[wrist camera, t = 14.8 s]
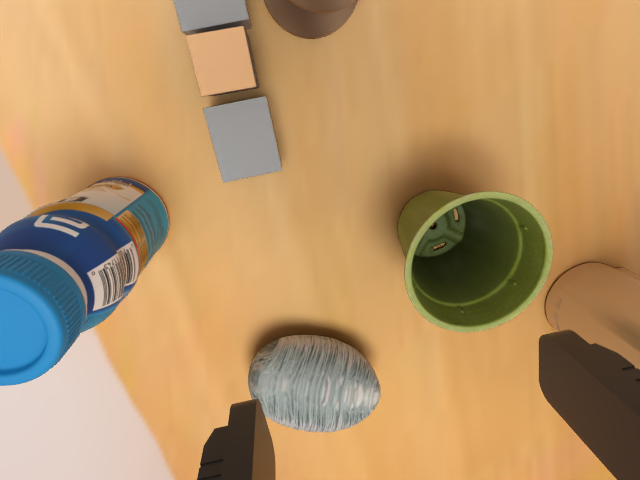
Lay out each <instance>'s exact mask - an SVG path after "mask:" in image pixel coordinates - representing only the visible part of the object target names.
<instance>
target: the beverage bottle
mask: <svg viewBox="0 0 640 480" xmlns="http://www.w3.org/2000/svg"><path fill="white" fill-rule="evenodd" d="M168 229H169V219H168V214H167V210H166V208H165V206H164V204H163V202H162V200H161V199H160V198H159V196H158V195H157V194H156V193H155V192H154V191H153V190H152V189H150V188H149V187H148V186H146V185H144V184H143V183H141V182H138V181H136V180H133V179H129V178H123V177H112V178H106V179H103V180H100V181H98V182H96V183H94V184H92V185H90V186H89V187H87V188H86V189H84V190H82V191H80V192H78V193H76V194H74V195H72V196H69V197H67V198H65V199H63V200H61V201H59V202H56V203H51V204H48V205H45V206H43V207H40V208H38V209H36V210H35V211H33V212H31V213H30V214H28V215H27V216H26V217H25V218H23V219H22V220H19V221H17V222H15V223H13V224H11V225H10V226H8V227H7V228H5V229H4V230H3V231H2V232H1V233H0V386H5V385H16V384H21V383H25V382H28V381H31V380H33V379H35V378H37V377H39V376H41V375H42V374H44V373H46V372H47V371H48V370H49V369H50V368H52V367H53V366H54V365H56V364H57V362H59V361H60V359H61V358H62V357H63V355H64V354H65V353H66V352H67V350H68V349H69V348H70V347H71V346H72V344H73V343H74V342H75V340H76V339H77V338H78V336H79V335H80V333H81V332H84V331H86V330H88V329H90V328H92V327H94V326H96V325H98V324H99V323H101V322H102V321H104V320H105V319H106V318H107V317H108V316H110V315H111V314H112V312H113V311H114V310H115V309H116V307H117V306H118V304H119V303H120V302H121V301H122V300H123V299H124V298H125V297H126V296H127V295H128V294H129V293H130V291H131V290H132V289H133V287H134V285H135V283H136V281H137V279H138V276H139V275H140V274H141V272H142V271H143V269H144V268H145V267H146V265H147V264H148V262H149V261H150V260H151V258H152V257H153V255H154V254H155V253H156V252H157V251H158V250H159V248H160V247H161V246H162V244H163V243H164V241H165V239H166V237H167V234H168Z"/></svg>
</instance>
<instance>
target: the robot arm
mask: <svg viewBox="0 0 640 480" xmlns="http://www.w3.org/2000/svg"><path fill="white" fill-rule="evenodd" d="M545 310H546V316H547V319H548V321H549V323H550V324H551V325H552V327H554V328H555V329H556V330H557V331H558V332H554V333H550V334H545V335H542V336H541V337H540V339H539V383H540V387H541V390H542V392H543V394H544V396H545V398H546V399H547V401H548V402H549V403H550V405H551V406H552V407H553V408H554V409H555V410H556V411H557V412H558V414H559V415H560V416H561V417H562V418H563V419H564V420H565V421H566V423H567V424H568V425H569V426H570V427H571V428H572V429H573V430H574V432H575V433H576V434H577V435H578V436H579V437H580V438H581V439H582V441H583V442H584V443H585V444H586V445H587V446H588V447H589V449H590V450H591V451H592V452H593V453H594V454H595V455H596V456H597V458H598V459H599V460H600V461H601V462H602V463H603V464H604V465H605V467H606V468H607V469H608V470H609V471H610V472H611V473H612V474H613V476H614V477H615V478H616V479H617V480H640V276H639V275H637V274H635V273H633V272H631V271H629V270H627V269H625V268H623V267H620V268H612V267H610V266H608V265H606V264H602V263H586V264H581V265H579V266H576V267H574V268H572V269H570V270H569V271H567V272H566V273H564V274H563V275H562V276H561V277H560V278H559V279H558V280H557V281H556V282H555V284H554V285H553V286H552V288H551V290H550V292H549V294H548V297H547V299H546V306H545ZM200 465H201V468H199V473H198V478H197V480H275V454H274V448H273V443H272V439H271V435H270V432H269V429H268V425H267V422H266V419H265V415H264V412H263V409H262V405H261V402H260V400H259V399H253V400H249V401H244V402H240V403H236V404H232V405H231V408H230V415H229V422H228V426H224V427H220V428H216V429H214V431H213V432H212V434H211V435H210V437H209V439H208V440H207V442H206V443H205V445H204V448H203V453H202V458H201V463H200Z"/></svg>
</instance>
